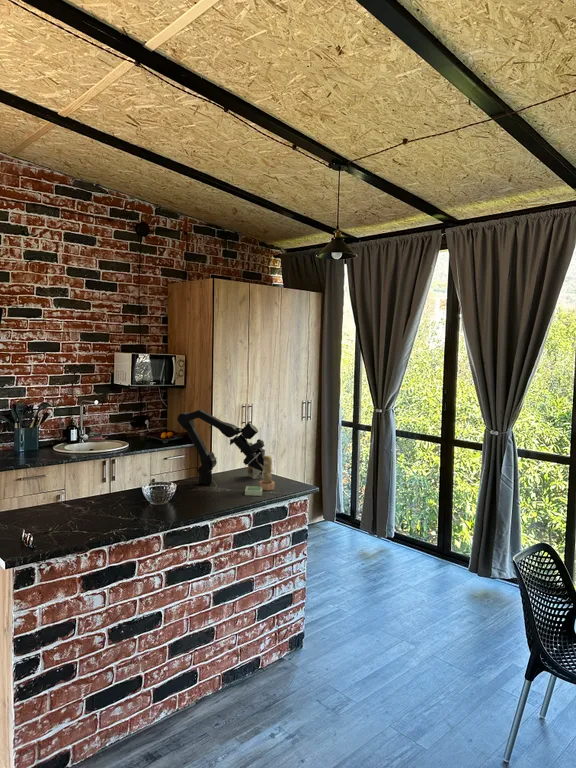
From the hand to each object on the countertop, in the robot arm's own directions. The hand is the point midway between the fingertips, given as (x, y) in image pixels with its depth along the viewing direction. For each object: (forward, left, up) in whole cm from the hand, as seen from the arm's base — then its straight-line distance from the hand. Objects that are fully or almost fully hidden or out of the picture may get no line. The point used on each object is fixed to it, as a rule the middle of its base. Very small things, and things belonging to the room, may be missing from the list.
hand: (264, 468), depth 269 cm
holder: (+1, 0, -10) cm, 10 cm away
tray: (-5, -10, -10) cm, 15 cm away
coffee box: (-6, +22, -11) cm, 25 cm away
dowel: (+1, 0, -10) cm, 10 cm away
